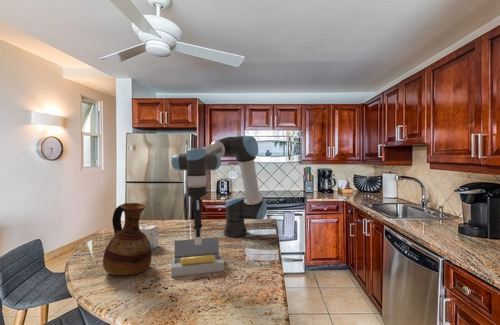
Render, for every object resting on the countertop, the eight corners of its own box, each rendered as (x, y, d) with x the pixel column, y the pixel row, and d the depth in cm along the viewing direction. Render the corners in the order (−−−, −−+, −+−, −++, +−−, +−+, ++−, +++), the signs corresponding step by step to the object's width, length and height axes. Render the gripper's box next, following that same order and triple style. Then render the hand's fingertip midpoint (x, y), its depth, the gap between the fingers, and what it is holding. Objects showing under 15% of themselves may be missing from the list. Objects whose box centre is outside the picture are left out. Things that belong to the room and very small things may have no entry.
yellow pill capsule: (215, 260, 120) (214, 253, 120) (215, 262, 117) (215, 255, 117) (180, 263, 116) (179, 256, 116) (179, 266, 113) (179, 259, 113)
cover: (219, 254, 126) (218, 254, 127) (218, 237, 128) (218, 237, 129) (174, 258, 122) (174, 258, 122) (174, 240, 123) (174, 240, 124)
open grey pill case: (220, 259, 131) (220, 251, 131) (224, 271, 117) (223, 262, 117) (173, 264, 126) (172, 256, 126) (171, 277, 112) (171, 267, 112)
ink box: (150, 250, 146) (149, 226, 145) (136, 249, 147) (135, 225, 147) (158, 245, 154) (158, 222, 154) (145, 244, 156) (144, 221, 155)
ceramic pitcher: (129, 284, 107) (127, 208, 106) (91, 277, 114) (89, 206, 113) (161, 265, 125) (160, 201, 125) (127, 260, 132) (126, 199, 132)
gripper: (187, 184, 117) (188, 239, 117) (187, 188, 102) (188, 250, 102) (205, 184, 118) (206, 237, 119) (207, 187, 104) (208, 248, 104)
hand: (198, 243), depth 111 cm, fingers closed
